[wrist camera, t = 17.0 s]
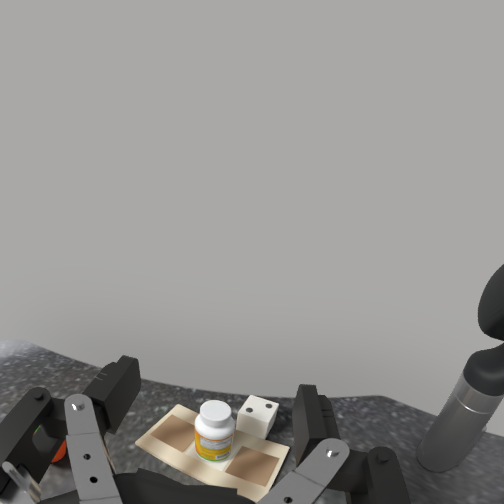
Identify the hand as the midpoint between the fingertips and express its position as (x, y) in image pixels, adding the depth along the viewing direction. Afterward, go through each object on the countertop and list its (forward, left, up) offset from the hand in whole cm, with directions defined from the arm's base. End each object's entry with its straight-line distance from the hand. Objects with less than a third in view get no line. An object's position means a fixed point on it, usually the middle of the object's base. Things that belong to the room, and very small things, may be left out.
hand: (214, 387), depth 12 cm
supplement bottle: (+7, -14, -27) cm, 31 cm away
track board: (+7, -14, -28) cm, 32 cm away
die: (+3, -23, -28) cm, 36 cm away
